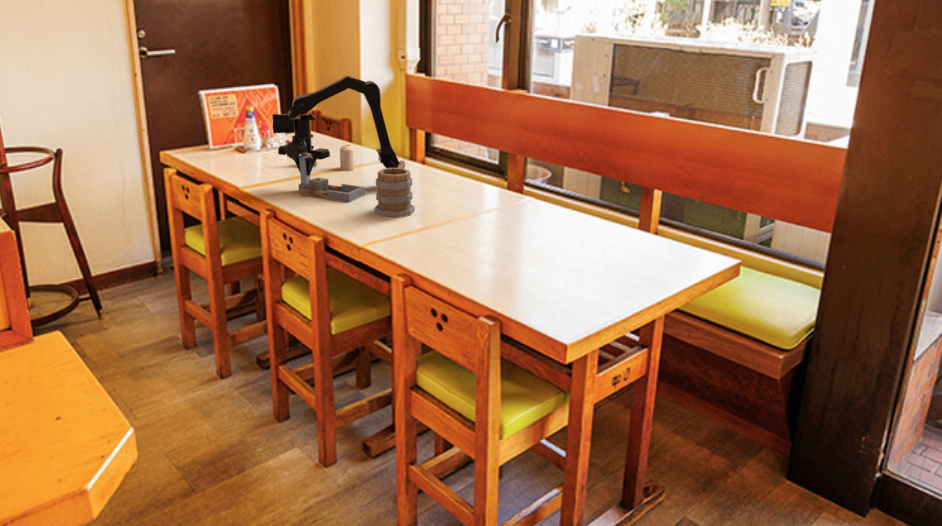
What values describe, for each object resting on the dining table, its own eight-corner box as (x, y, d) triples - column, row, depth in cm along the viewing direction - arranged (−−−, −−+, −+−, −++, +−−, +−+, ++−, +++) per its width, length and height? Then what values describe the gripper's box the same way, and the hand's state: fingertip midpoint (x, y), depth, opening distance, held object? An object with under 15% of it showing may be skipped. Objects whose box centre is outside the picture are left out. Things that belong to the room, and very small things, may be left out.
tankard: (407, 218, 247) (407, 174, 242) (370, 215, 250) (369, 171, 244) (423, 202, 266) (423, 160, 260) (388, 199, 268) (388, 158, 263)
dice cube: (309, 193, 272) (308, 180, 271) (317, 190, 276) (317, 177, 275) (320, 195, 270) (319, 182, 268) (328, 192, 274) (328, 179, 273)
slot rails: (341, 191, 275) (341, 186, 275) (326, 198, 267) (326, 193, 266) (316, 187, 279) (316, 182, 279) (300, 194, 271) (300, 189, 270)
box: (364, 194, 272) (364, 186, 271) (349, 202, 263) (349, 193, 262) (343, 191, 275) (342, 183, 274) (327, 198, 266) (327, 190, 265)
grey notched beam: (313, 188, 277) (311, 156, 273) (304, 192, 272) (302, 159, 268) (307, 187, 278) (305, 155, 274) (298, 191, 273) (296, 158, 269)
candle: (347, 171, 303) (346, 147, 300) (337, 169, 306) (336, 145, 303) (356, 169, 307) (356, 145, 304) (347, 166, 311) (346, 143, 307)
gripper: (267, 134, 264) (270, 177, 270) (311, 139, 257) (314, 183, 263) (286, 128, 274) (289, 170, 279) (329, 133, 267) (331, 176, 273)
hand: (305, 175), depth 273 cm, fingers closed on grey notched beam, 2 cm apart
